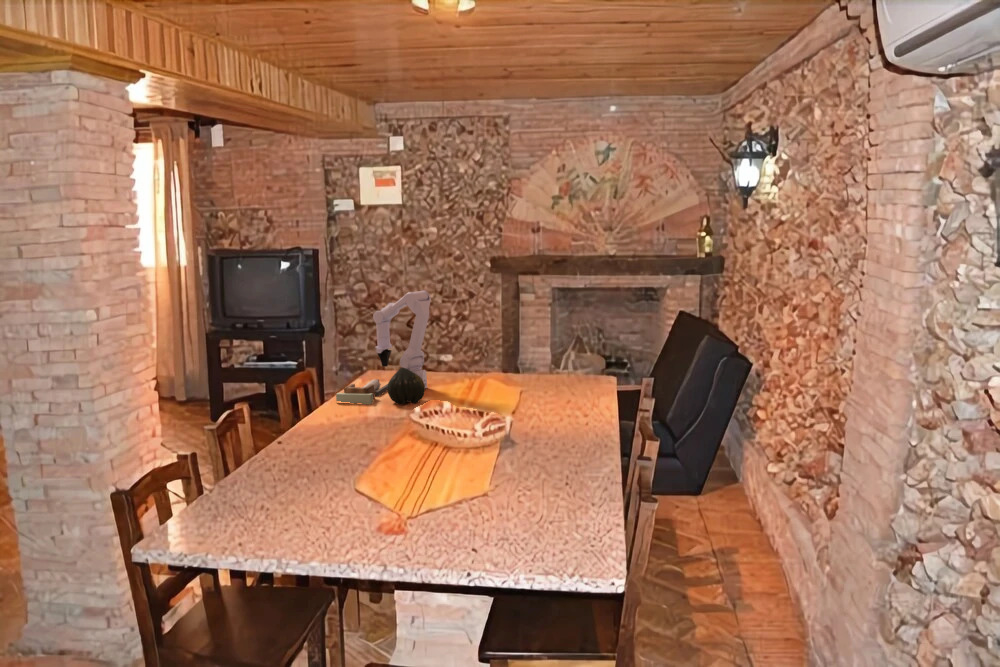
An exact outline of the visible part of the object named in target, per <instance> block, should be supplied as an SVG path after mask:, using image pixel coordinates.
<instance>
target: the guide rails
mask: <svg viewBox="0 0 1000 667" xmlns="http://www.w3.org/2000/svg"><path fill="white" fill-rule="evenodd" d="M375 380H378V381H379V382H380V379H375ZM387 390H388V383H387V384H385V385H384V386H382V387H380V388H378V389H377V390H376V391H375V392H374V397H379V395H380V396H381V395H383V394H384V393H386V392H388V391H387ZM382 393H383V394H382Z"/></svg>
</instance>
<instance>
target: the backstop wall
mask: <svg viewBox="0 0 1000 667" xmlns="http://www.w3.org/2000/svg"><path fill="white" fill-rule="evenodd" d="M335 396H336V397H335V401H341V402H350V403H362V404H361V405H372V404H374V399H373V393H344V392H337V393H336V394H335Z"/></svg>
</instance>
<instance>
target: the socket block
mask: <svg viewBox="0 0 1000 667" xmlns="http://www.w3.org/2000/svg"><path fill="white" fill-rule="evenodd" d="M343 393H373V400H374V399H375V392H374V384H370V385H368V386H367V387H363V386H361V387H359V386H356V384H355V383H351V384H349V385H348V386H346V387H343Z"/></svg>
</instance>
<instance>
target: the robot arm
mask: <svg viewBox="0 0 1000 667" xmlns="http://www.w3.org/2000/svg"><path fill="white" fill-rule="evenodd" d="M431 301H432V298H431V296H430V293H429V292H428V291H427V290H420V291H409V292H407V293H405V294H404V295H403V296H402V297H400V299H398V300H397V301H396V302H388V303H387V305H386V306H384V307H381V310H376V311H375V312H373V316H372V318H373V321H374V323H375V324H376V326H375V327H376V342H377V343H376V344H377V345H376V346H374V349H375V354H377V355H378V357H379V360H380V363H381V365H382V367H385V368H387V367H388V366H389V361H390V360H389V359H390V356H391V354H392V348H393V346H392V343H391V335H390V333H391V332H390V326H391V322H392V319H393V318H394V317H396V316H397V315H398V314H399V313H400V311H401V309H403V308H405V307H406V306H407V307H408V308H409V310H410V311H411V312H412V313H413V314H415V318H414V322H413V326H412V331H411V336H410V339H409V343H408V348H406V349H405V350H404V351H403V353H402V356H401V357H400V360H399V366H400V367H401V368H402V367H403V368H406V369H408V370H410V371H412V372H414V373H415V374H417V375H418V376H420V377H421V379H422V380H423V382H424V385H425V388H426V389H427V388H428V387H429V386H428V378H427V377H428V376H427V370H425V369H422V368H423V366H424V364H425V353H424V351H423V350H422V347H423V343H424V339H425V335H426V330H427V326H428V322H429V318H430V305H431Z"/></svg>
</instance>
